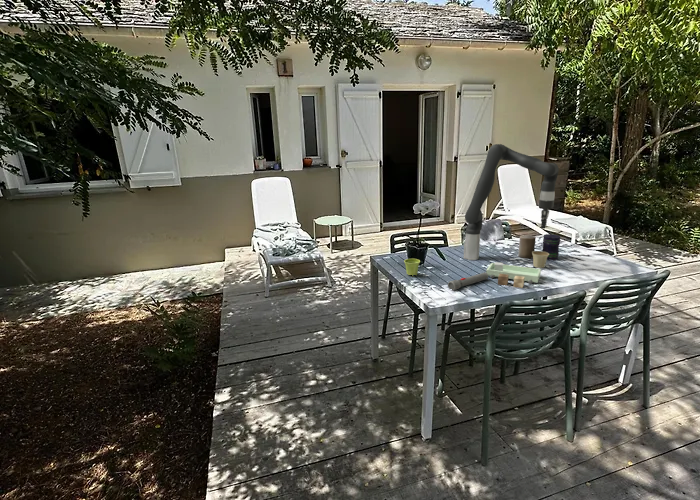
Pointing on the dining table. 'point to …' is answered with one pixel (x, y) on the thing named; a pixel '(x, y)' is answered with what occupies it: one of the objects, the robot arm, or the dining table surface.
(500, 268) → the grey part
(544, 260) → the flower pot
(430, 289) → the dining table surface
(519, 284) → the beech part
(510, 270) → the cart
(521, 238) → the pillar candle
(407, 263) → the plant pot
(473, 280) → the flashlight
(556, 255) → the storage jar
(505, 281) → the walnut part
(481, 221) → the robot arm
